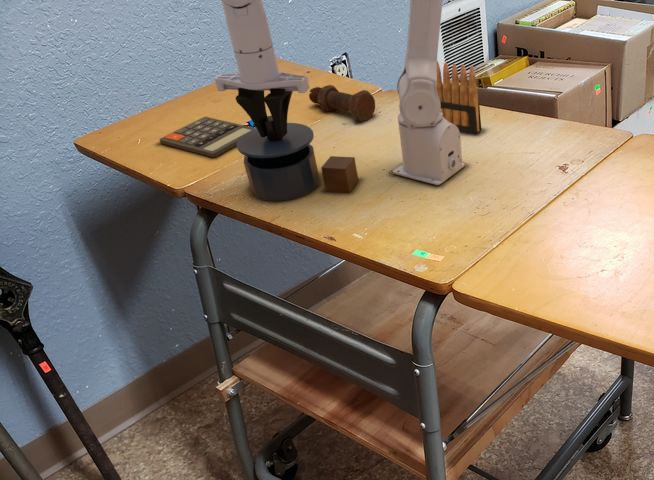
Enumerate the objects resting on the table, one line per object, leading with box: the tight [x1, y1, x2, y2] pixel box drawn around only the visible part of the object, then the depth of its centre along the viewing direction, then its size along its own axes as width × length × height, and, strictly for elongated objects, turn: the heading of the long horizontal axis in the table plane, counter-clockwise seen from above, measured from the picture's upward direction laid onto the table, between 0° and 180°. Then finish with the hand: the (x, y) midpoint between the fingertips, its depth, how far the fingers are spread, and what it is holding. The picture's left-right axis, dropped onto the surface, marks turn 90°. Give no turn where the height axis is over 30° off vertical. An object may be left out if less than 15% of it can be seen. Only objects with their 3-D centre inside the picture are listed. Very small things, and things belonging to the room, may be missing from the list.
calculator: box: [159, 116, 256, 158], centre depth 135 cm, size 12×1×15 cm
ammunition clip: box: [436, 60, 482, 135], centre depth 127 cm, size 11×2×12 cm, turn 60°
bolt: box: [308, 84, 376, 123], centre depth 139 cm, size 6×5×15 cm
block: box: [320, 155, 359, 194], centre depth 115 cm, size 4×4×4 cm
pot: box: [243, 143, 320, 202], centre depth 116 cm, size 11×11×5 cm
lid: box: [236, 115, 315, 158], centre depth 112 cm, size 12×12×4 cm
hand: (274, 135), depth 113 cm, fingers closed on lid, 2 cm apart
